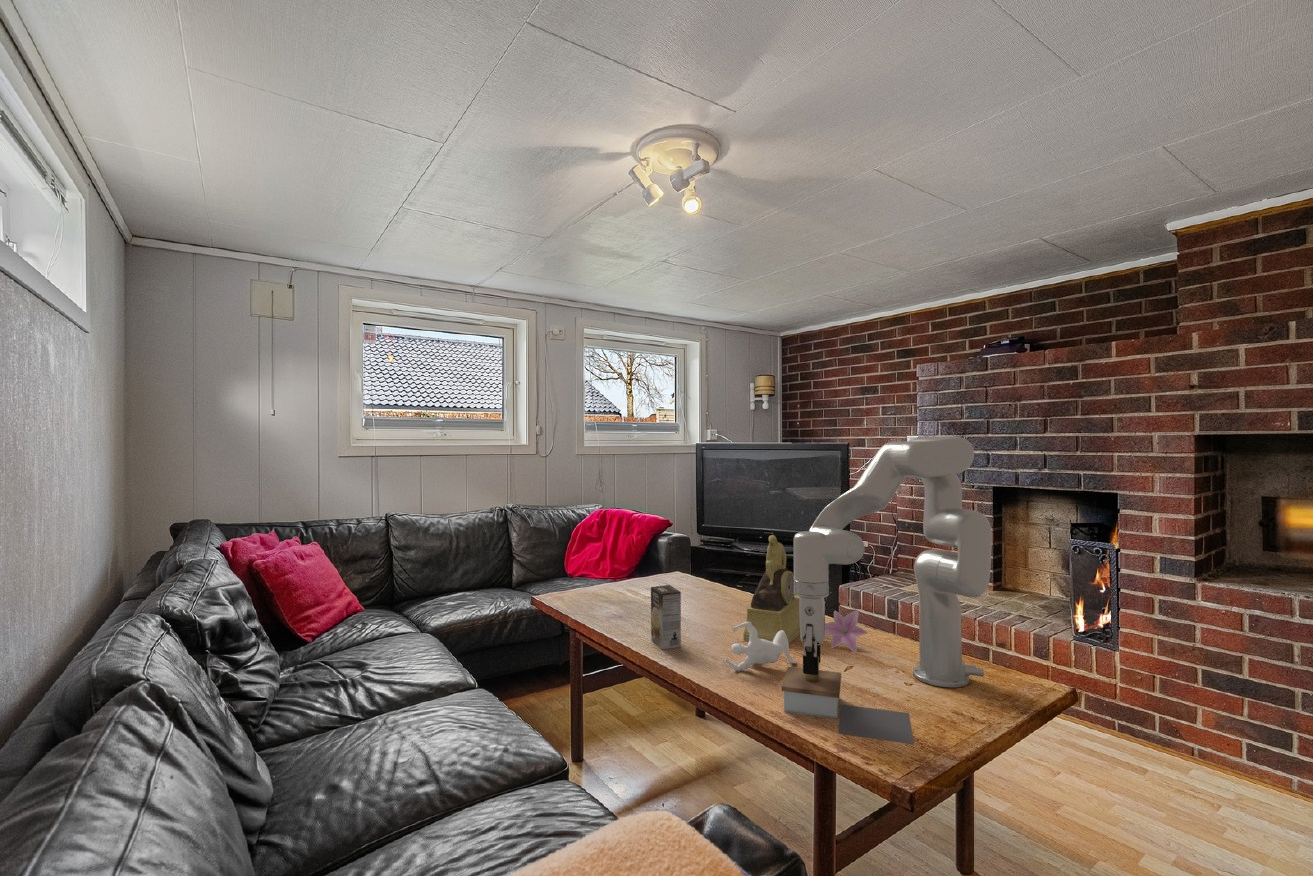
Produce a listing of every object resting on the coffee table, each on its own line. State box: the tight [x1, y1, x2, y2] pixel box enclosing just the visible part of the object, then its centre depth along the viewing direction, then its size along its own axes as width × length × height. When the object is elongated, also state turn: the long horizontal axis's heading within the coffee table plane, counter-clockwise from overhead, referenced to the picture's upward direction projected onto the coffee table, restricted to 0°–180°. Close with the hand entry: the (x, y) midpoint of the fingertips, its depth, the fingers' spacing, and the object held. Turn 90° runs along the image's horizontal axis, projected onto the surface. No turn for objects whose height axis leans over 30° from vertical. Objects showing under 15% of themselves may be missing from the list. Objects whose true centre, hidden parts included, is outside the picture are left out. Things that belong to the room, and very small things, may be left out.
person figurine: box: [723, 621, 798, 672], centre depth 157 cm, size 13×13×18 cm
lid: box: [781, 657, 842, 699], centre depth 134 cm, size 12×12×6 cm
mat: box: [838, 704, 915, 745], centre depth 125 cm, size 14×14×1 cm
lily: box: [825, 609, 868, 653], centre depth 174 cm, size 12×12×10 cm
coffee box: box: [650, 584, 682, 650], centre depth 177 cm, size 9×6×16 cm
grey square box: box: [783, 691, 840, 720], centre depth 134 cm, size 11×11×5 cm
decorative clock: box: [742, 534, 800, 644], centre depth 188 cm, size 28×13×30 cm, turn 150°
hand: (811, 667), depth 134 cm, fingers open, 6 cm apart
